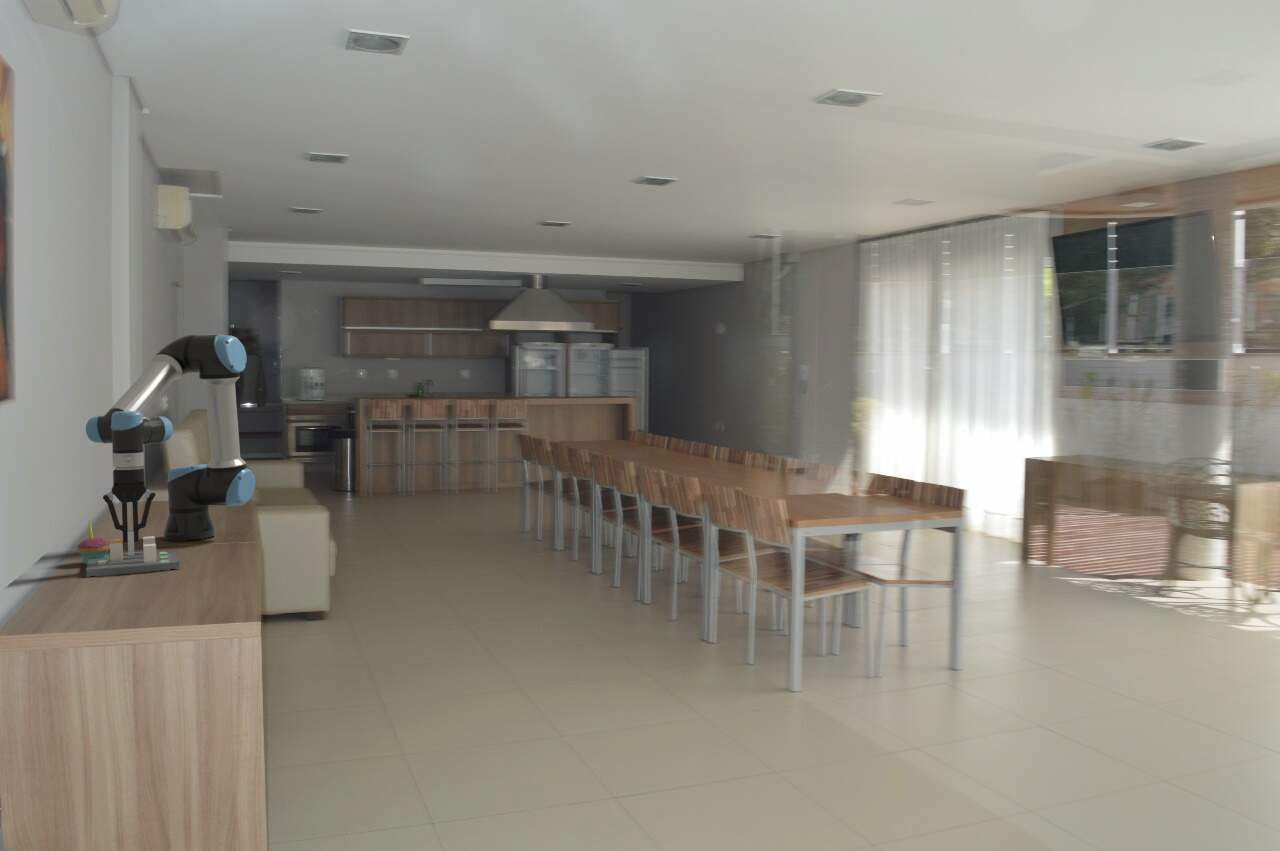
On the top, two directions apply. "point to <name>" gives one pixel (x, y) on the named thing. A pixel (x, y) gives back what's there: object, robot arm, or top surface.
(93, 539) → the cupcake
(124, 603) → the top surface
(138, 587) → the top surface
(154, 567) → the panel
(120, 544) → the breaker handle
